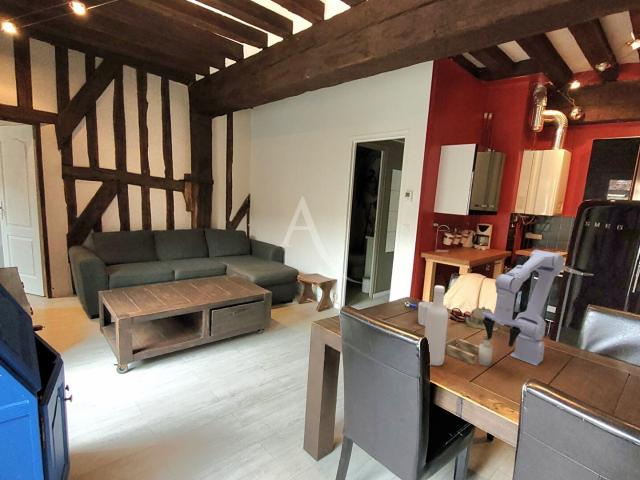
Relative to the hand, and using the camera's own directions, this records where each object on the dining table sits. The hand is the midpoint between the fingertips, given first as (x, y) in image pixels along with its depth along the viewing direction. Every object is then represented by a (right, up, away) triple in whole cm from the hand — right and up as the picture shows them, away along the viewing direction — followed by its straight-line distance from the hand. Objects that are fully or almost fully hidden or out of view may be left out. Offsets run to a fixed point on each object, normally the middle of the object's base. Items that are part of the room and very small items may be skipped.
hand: (499, 341), depth 123 cm
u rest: (-9, -9, +12) cm, 17 cm away
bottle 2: (-3, -10, +5) cm, 11 cm away
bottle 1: (-23, -9, +6) cm, 26 cm away
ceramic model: (+13, -5, +41) cm, 44 cm away
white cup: (-15, -4, +42) cm, 45 cm away
